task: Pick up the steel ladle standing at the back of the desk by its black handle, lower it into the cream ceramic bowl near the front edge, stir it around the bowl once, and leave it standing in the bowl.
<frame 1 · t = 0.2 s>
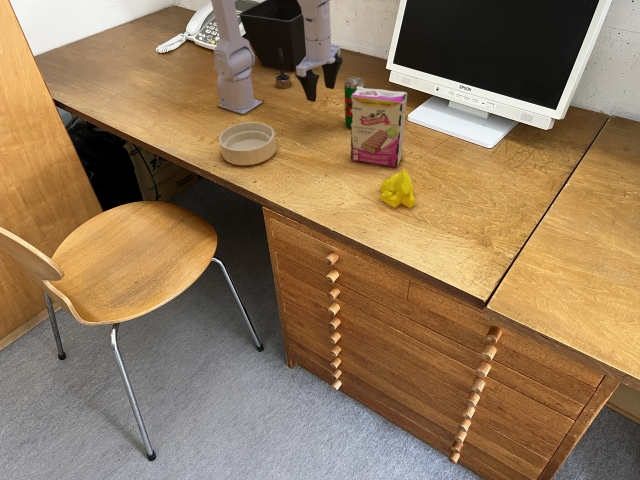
hand: (320, 94, 114), 10 cm above the table, tool pointing down, fingers open, 7 cm apart
soda can: (354, 125, 123), on the table
flower pot: (287, 62, 155), on the table
yellow faceted lump: (397, 198, 100), on the table
candy bar box: (376, 160, 110), on the table
bowl: (249, 152, 116), on the table
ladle: (283, 85, 142), on the table
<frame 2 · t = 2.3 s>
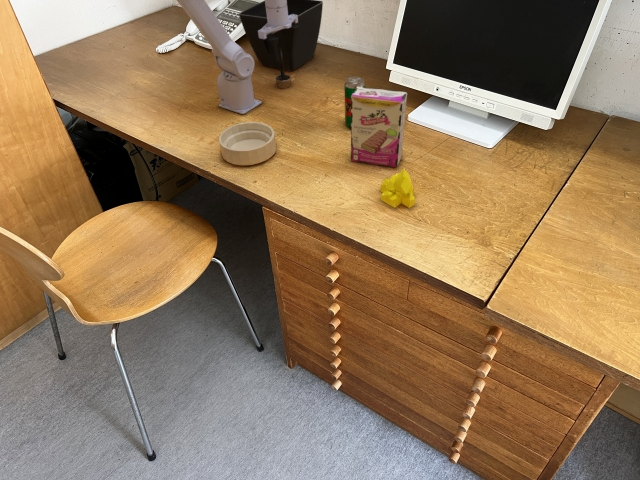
hand: (281, 56, 135), 9 cm above the table, tool pointing down, fingers open, 6 cm apart
flower pot: (286, 62, 155), on the table, touching gripper
everything else where it was.
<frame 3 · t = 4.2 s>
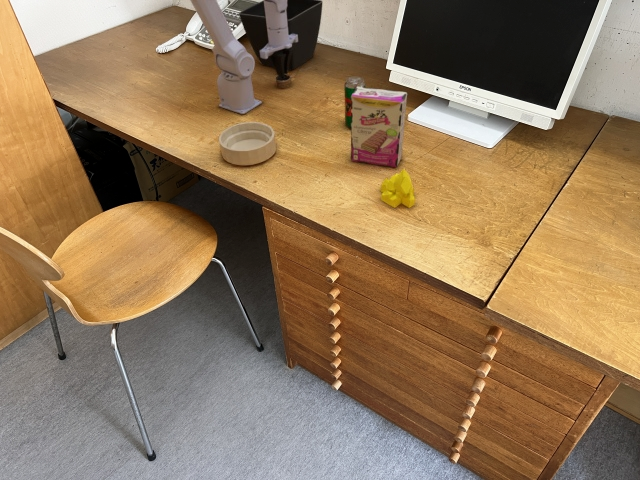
hand: (282, 74, 140), 3 cm above the table, tool pointing down, fingers closed on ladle
flower pot: (286, 61, 155), on the table
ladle: (283, 85, 142), on the table, touching gripper
everything else where it was.
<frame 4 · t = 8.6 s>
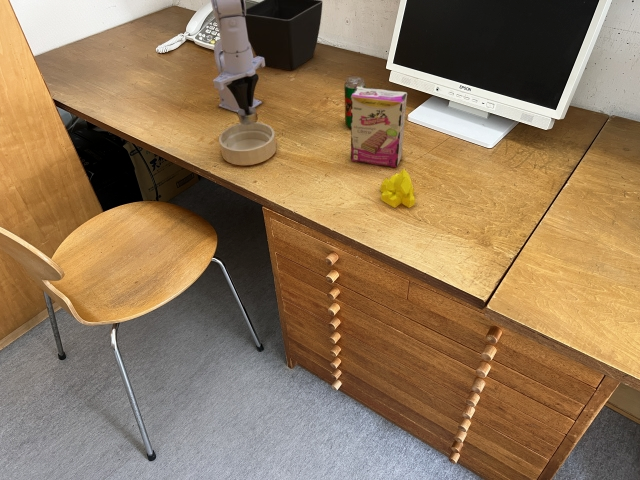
hand: (246, 107, 111), 10 cm above the table, tool pointing down, fingers closed on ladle
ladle: (248, 120, 113), point 7 cm above the table, touching gripper
everything else where it was.
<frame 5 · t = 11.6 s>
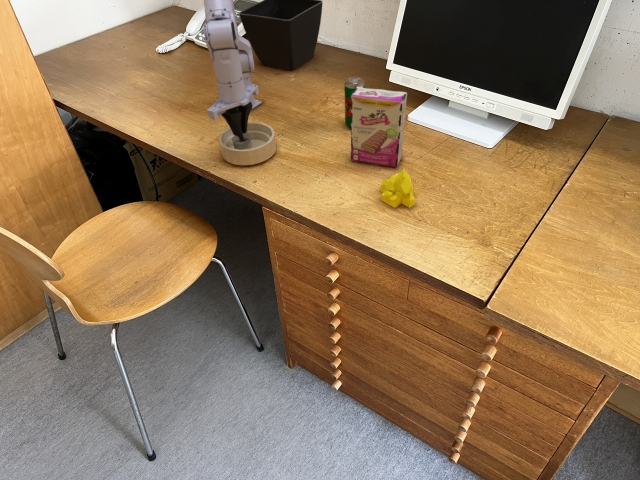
hand: (240, 133, 112), 5 cm above the table, tool pointing down, fingers closed on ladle
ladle: (242, 146, 114), point 2 cm above the table, touching gripper
everything else where it was.
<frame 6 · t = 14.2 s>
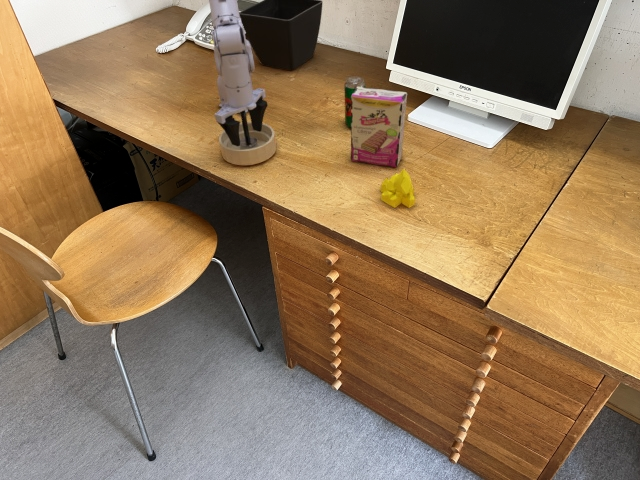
hand: (246, 137, 113), 4 cm above the table, tool pointing down, fingers open, 7 cm apart
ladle: (249, 150, 115), point 1 cm above the table, touching bowl
everything else where it was.
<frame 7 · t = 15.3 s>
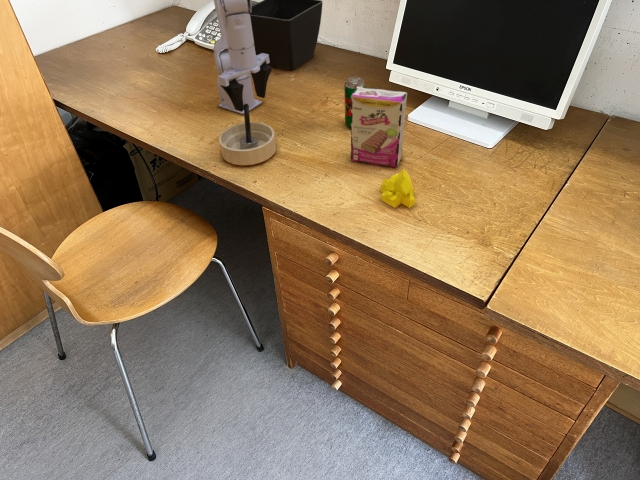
hand: (250, 103, 112), 10 cm above the table, tool pointing down, fingers open, 7 cm apart
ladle: (249, 148, 115), point 1 cm above the table, tilted 8°, touching bowl, gripper
everything else where it was.
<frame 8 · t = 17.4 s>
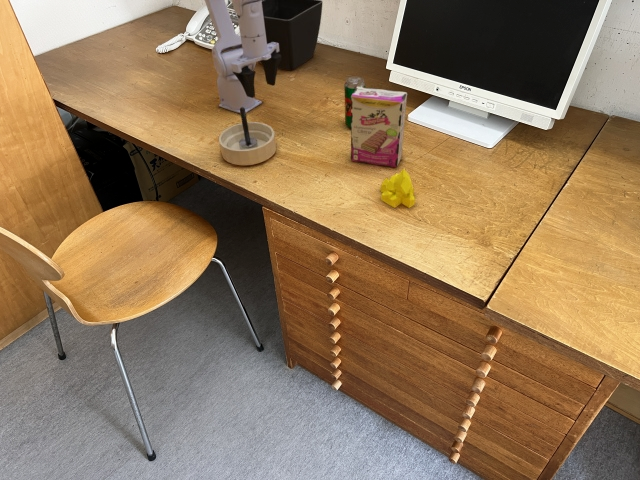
hand: (261, 90, 117), 10 cm above the table, tool pointing down, fingers open, 7 cm apart
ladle: (249, 150, 115), point 1 cm above the table, touching bowl
everything else where it was.
at the end: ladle 0.1 cm off-centre in the bowl, point 0.6 cm above the bowl's base; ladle tilted 0°; the gripper is holding nothing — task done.
